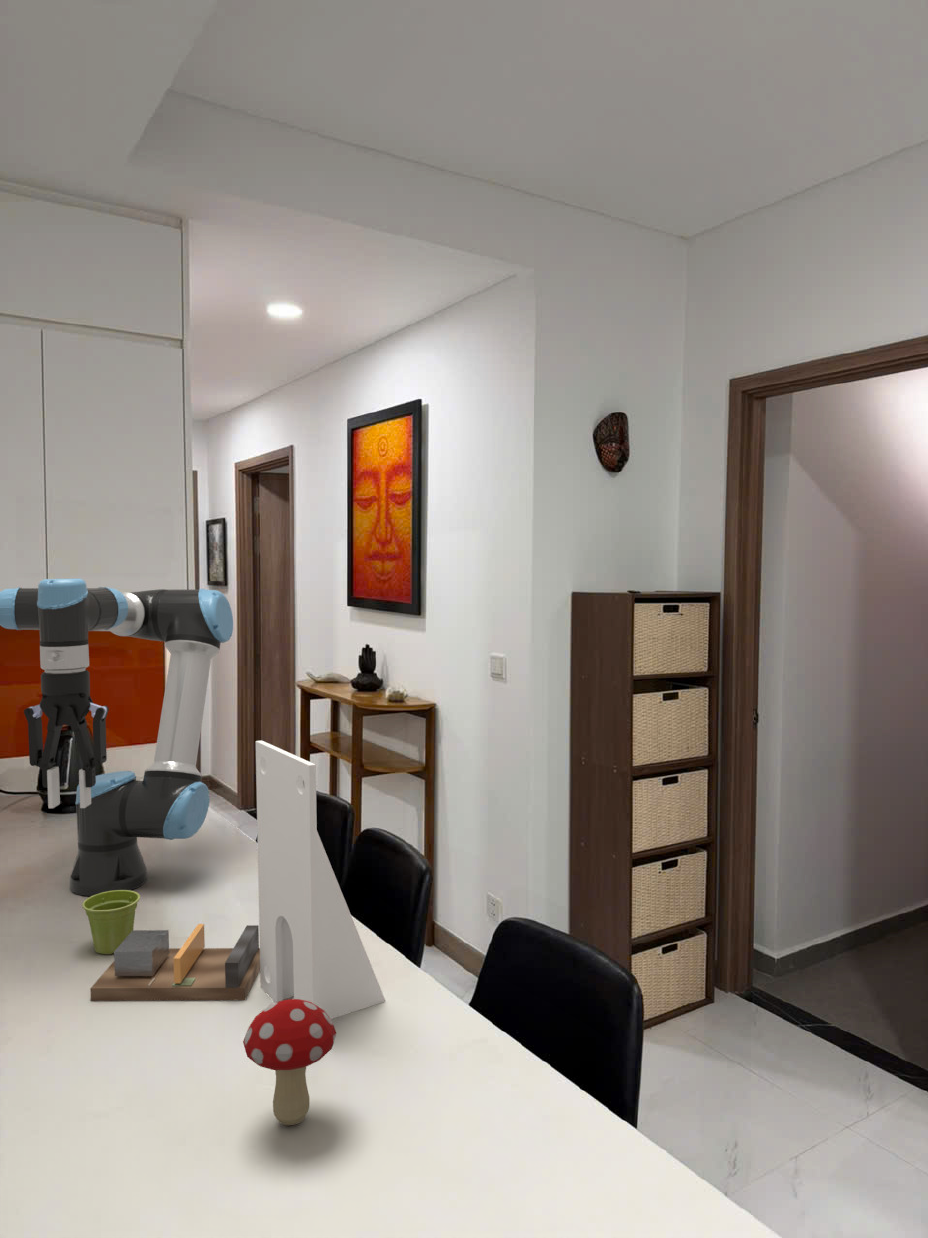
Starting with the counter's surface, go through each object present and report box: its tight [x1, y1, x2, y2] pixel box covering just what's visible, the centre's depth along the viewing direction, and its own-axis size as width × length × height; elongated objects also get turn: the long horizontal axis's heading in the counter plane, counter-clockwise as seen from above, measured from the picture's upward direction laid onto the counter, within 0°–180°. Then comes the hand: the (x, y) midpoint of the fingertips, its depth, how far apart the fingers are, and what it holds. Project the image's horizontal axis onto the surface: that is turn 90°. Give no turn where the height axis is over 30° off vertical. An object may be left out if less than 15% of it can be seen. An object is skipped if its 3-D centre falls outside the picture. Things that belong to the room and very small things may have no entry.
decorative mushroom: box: [242, 998, 337, 1126], centre depth 108 cm, size 11×11×15 cm
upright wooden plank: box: [173, 923, 206, 983], centre depth 145 cm, size 13×1×4 cm, turn 0°
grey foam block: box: [113, 929, 170, 976], centre depth 145 cm, size 8×6×4 cm
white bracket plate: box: [255, 740, 386, 1020], centre depth 137 cm, size 20×14×40 cm
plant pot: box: [82, 890, 141, 955], centre depth 157 cm, size 9×9×9 cm
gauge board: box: [90, 924, 260, 1002], centre depth 145 cm, size 14×24×6 cm, turn 90°
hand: (70, 805), depth 151 cm, fingers open, 5 cm apart
